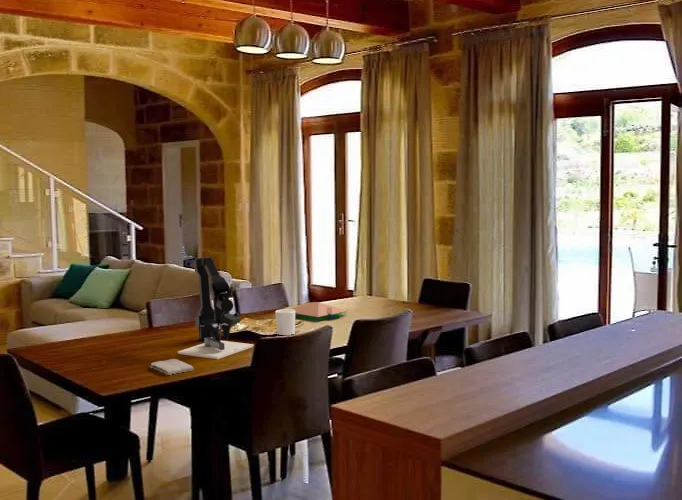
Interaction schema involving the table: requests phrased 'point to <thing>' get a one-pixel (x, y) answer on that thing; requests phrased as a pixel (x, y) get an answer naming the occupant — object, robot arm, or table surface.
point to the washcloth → (171, 366)
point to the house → (318, 310)
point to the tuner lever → (213, 343)
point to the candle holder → (285, 321)
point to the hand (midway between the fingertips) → (222, 341)
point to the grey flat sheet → (215, 350)
